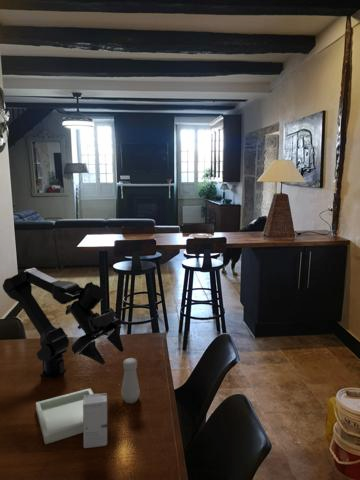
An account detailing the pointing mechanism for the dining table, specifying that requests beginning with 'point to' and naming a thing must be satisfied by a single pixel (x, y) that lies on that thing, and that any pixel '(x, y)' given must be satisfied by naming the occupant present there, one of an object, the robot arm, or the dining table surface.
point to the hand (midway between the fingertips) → (113, 357)
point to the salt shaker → (130, 381)
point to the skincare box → (95, 420)
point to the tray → (61, 415)
